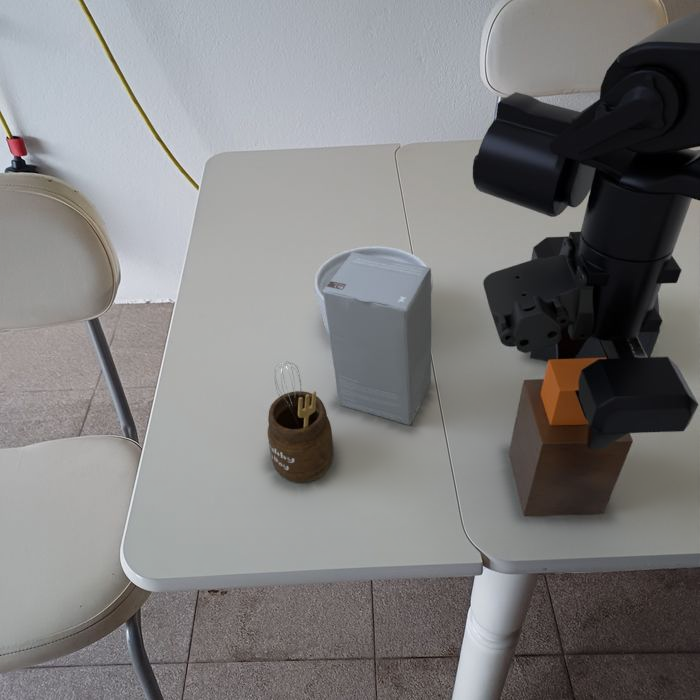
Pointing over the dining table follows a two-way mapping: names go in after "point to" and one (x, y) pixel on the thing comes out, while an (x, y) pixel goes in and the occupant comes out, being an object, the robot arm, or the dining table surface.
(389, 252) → the ramekin
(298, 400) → the utensil holder
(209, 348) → the dining table surface
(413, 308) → the cosmetic box
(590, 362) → the orange block
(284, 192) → the dining table surface
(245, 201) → the dining table surface
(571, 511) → the stand
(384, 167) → the dining table surface
